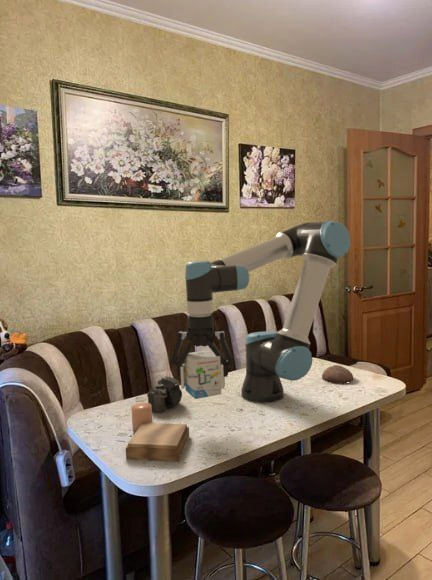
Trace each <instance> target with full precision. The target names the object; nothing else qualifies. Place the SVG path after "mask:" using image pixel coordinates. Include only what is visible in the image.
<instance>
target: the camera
mask: <svg viewBox="0 0 432 580" xmlns="http://www.w3.org/2000/svg"><path fill="white" fill-rule="evenodd" d="M180 385H181V381H179V380H178V379H176V378H174V377H171V376H168V375H165V376H162V377H161V379H160V380H157V384H156V386H154V387H152V388H151V389H150V390H149V391H148V392H147V393H146V397H147V403H150V404H151V406H152V413H155V414H156V413H157V414H164V413H165V412H166V409H167V408H170V407H173V406H177V405H178V404H180V402H181V401H182V397H183V392H182V389H181V387H180Z"/></svg>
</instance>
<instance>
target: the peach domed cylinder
mask: <svg viewBox="0 0 432 580" xmlns="http://www.w3.org/2000/svg"><path fill="white" fill-rule="evenodd" d="M130 411H131V423H132V424H131V425H132V431H133V433H136V431H137V430H138V429H139V427H140V426H141V424H142V423H154V422H153V412H152V406H151V404H150V403H148V402H138V403H135V404H133V405H131V408H130Z"/></svg>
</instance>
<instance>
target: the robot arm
mask: <svg viewBox="0 0 432 580" xmlns="http://www.w3.org/2000/svg"><path fill="white" fill-rule="evenodd" d="M350 247H351V235H350V234H349V231H348V229H347V227H346V226H345V225H344V224H343V223H342V222H339V221H336V220H335V221H332V220H325V221H316V222H304V223H300V224H298V225H296V226H293V227H290V228H288V229H286V230H283V231H281V232H278V233H277V234H276V236H275V237H273V238H271V239H268V240H265V241H263V242H260V243H258V244H256V245H253V246H251V247H248V248H245V249H242V250H240V251H238V252H235V253H233V254H230V255H227V256H224V257H221V258H219V259H216V260H213V261H210V260H195V261H194V260H193V261H188V262H186V265H185V276H184V278H185V287H186V289H185V291H186V313H187V314H188V316H187V331H183V330H180V331H179V332H177V334H176V335H177V339H176V344H175V348H174V350H173V353H172V356H171V360H170V364H171V365H175V366H176V371H177V377H180V386H181V387H180V389H185V388H186V386H185V363H183V362H185V361H184V359H185V358H186V356H187V355H188V353H190V351H192V348H193V347H194V346H195V347H207V346H208V348H209V350H210V351H212V352H214V354H215V355H216V356H220V363H221V390H222V389H225V387H226V381H225V377H226V378H227V377H228V375H229V366H231V365H233V364H234V361H235V360H234V356H233V354H232V352H231V349H230V347H229V345H228V342H227V339H226V334H225V333H226V331H224V330H221V331H216V330H215V328H214V327H215V326H214V315H213V313H214V304H213V302H214V301H213V297H214V295H213V294H214V293H215V294H216V293H221V292H222V293H223V292H232V291H234V292H235V291H236V292H238V291H241V290H245V289H246V288H247V287H248V286H249V283H250V274H249V272H252V271H255V270H257V269H259V268H262V267H263V266H266V265H269V264H272V263H274V262H276V261H278V260H281V259H287V260H289V259H291V258H294V257H298V256H301V257H302V259H303V261H304V263H303V265H302V269H301V271H300V274H299V278H298V281H297V284H296V287H295V290H294V293H293V297H292V299H291V301H290V302H291V303H290V305H289V307H288V312H287V314H286V318H285V320H284V323H283V326H282V328H281V329H280V330H278V331H272V330H271V331H256V332H251V333H249V334H247V335H246V337H245V343H244V345H245V377H244V381H243V383H242V387H241V389H240V390H241V397H242V398H243V399H245V400H246V401H248V402H253V403H263V404H264V403H265V404H266V403H275V402H278V401H281V400H282V399H283V398H284V395H285V393H284V392H285V391H284V386H283V383H282V381H281V379H284V380H286V381H292V382H294V381H298V380H301V379H302V378H304V377H305V376H306V375H307V374H308V373H309V372H310V370H311V368H312V365H313V357H312V356H313V355H312V352H311V351H310V346H311V342H310V340H309V335H310V334H309V333H310V332H311V331H310V330H311V327H312V324H313V321H314V318H315V316H316V313H317V309H318V308H319V307H318V306H319V303H320V300H321V297H322V294H323V291H324V289H325V284H326V282H327V280H328V275H329V272H330V269H332V268H334V267H336V266H337V263H338V260H339V259H340V258H342V257H344V256H345V255H346V254H348V252H349V250H350ZM186 337H187V338H188V339H189V341H190V342H189V344H188V345H187V346H186V348H185V350H184V351H183V353H182V355H181V356H180V358H179V359H178V356H179V353H180V351H181V347H182V345H183V340H185V339H186ZM215 337H217V339H218V340H219V342H220V345H221V347H222V349H223V352H224V353H222V352H221V350H220V349H219V347H218V346H217V345H216V343H215V341H214V340H213V339H214V338H215ZM224 354H225V355H224ZM225 356H226V357H225Z"/></svg>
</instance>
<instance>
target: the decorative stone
mask: <svg viewBox="0 0 432 580" xmlns="http://www.w3.org/2000/svg"><path fill="white" fill-rule="evenodd" d="M321 378H322V380H323V381H324V380H325V381H324V382H326V381H328V382H327V383H329V382H331V383H330V384H335V383H347V382H350V383H352V382H353V381H352V380H354V375H353V373H352V372H351V371H350V370H349V369H347V368H346V367H345V366H342V365H338V364H335V365H334V364H333V365H331V366H329V367H327V368H325V369H324V371H323V372H322V374H321ZM351 381H352V382H351ZM347 384H348V383H347Z"/></svg>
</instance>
